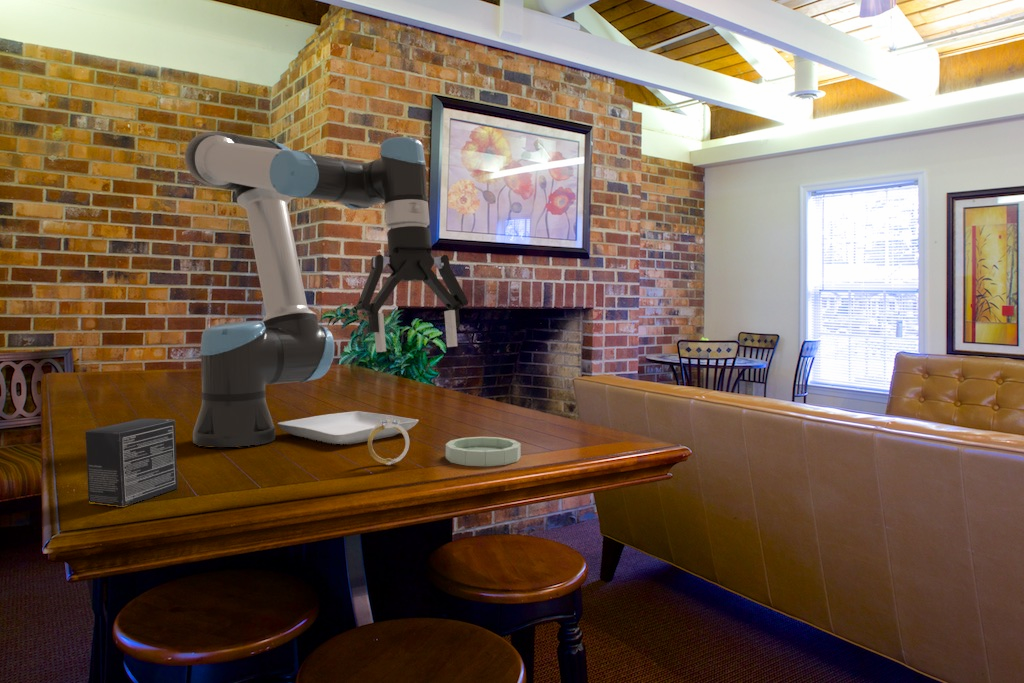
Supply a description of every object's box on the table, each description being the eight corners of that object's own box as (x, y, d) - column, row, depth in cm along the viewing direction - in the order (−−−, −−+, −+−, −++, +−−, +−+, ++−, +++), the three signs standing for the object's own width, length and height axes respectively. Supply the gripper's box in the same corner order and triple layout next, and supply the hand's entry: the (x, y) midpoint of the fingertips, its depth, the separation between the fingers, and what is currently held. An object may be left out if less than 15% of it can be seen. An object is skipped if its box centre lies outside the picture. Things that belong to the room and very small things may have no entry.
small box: (144, 485, 110) (142, 416, 109) (179, 489, 108) (178, 419, 107) (84, 504, 100) (82, 428, 99) (123, 508, 98) (121, 431, 97)
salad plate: (274, 437, 149) (274, 420, 149) (357, 423, 165) (357, 408, 165) (337, 452, 136) (337, 434, 135) (421, 435, 152) (421, 419, 152)
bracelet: (410, 462, 126) (410, 416, 126) (408, 466, 123) (408, 419, 122) (369, 462, 126) (369, 416, 125) (366, 466, 123) (366, 419, 122)
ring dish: (458, 468, 122) (458, 453, 122) (438, 452, 134) (438, 439, 134) (530, 463, 126) (530, 448, 126) (505, 448, 139) (505, 435, 138)
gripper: (346, 222, 117) (356, 353, 117) (480, 226, 131) (489, 343, 130) (332, 230, 124) (341, 354, 123) (461, 233, 137) (469, 345, 137)
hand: (417, 349), depth 127 cm, fingers open, 13 cm apart
